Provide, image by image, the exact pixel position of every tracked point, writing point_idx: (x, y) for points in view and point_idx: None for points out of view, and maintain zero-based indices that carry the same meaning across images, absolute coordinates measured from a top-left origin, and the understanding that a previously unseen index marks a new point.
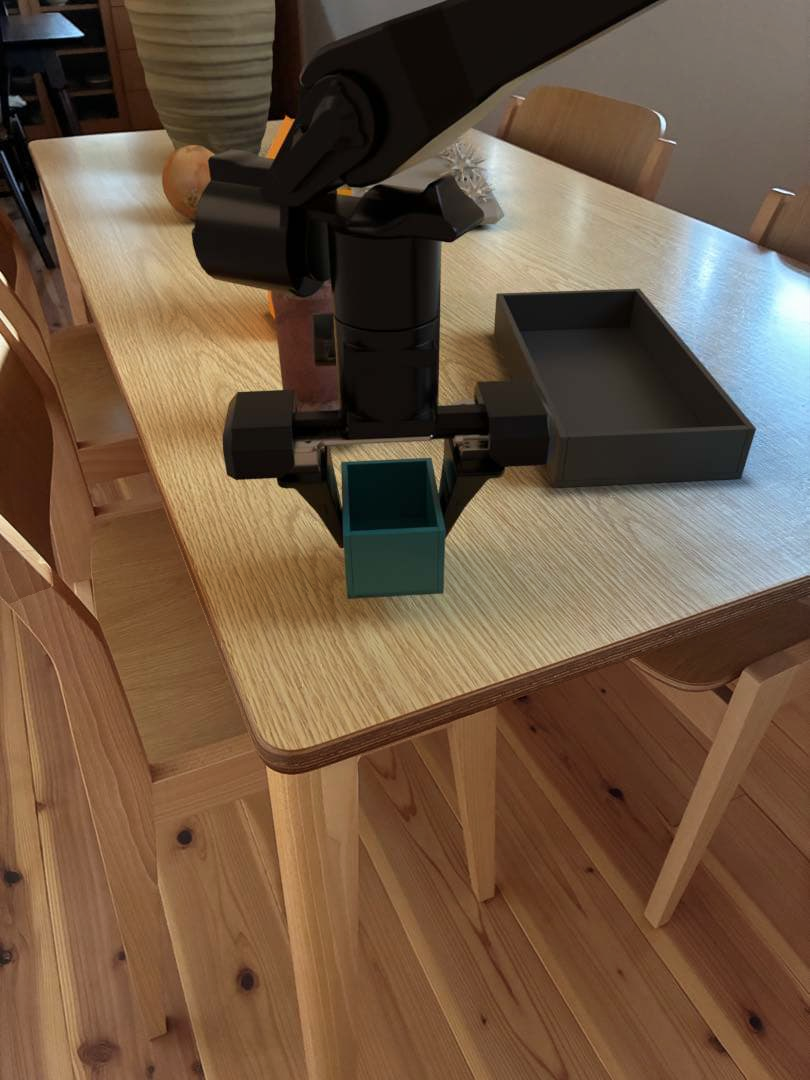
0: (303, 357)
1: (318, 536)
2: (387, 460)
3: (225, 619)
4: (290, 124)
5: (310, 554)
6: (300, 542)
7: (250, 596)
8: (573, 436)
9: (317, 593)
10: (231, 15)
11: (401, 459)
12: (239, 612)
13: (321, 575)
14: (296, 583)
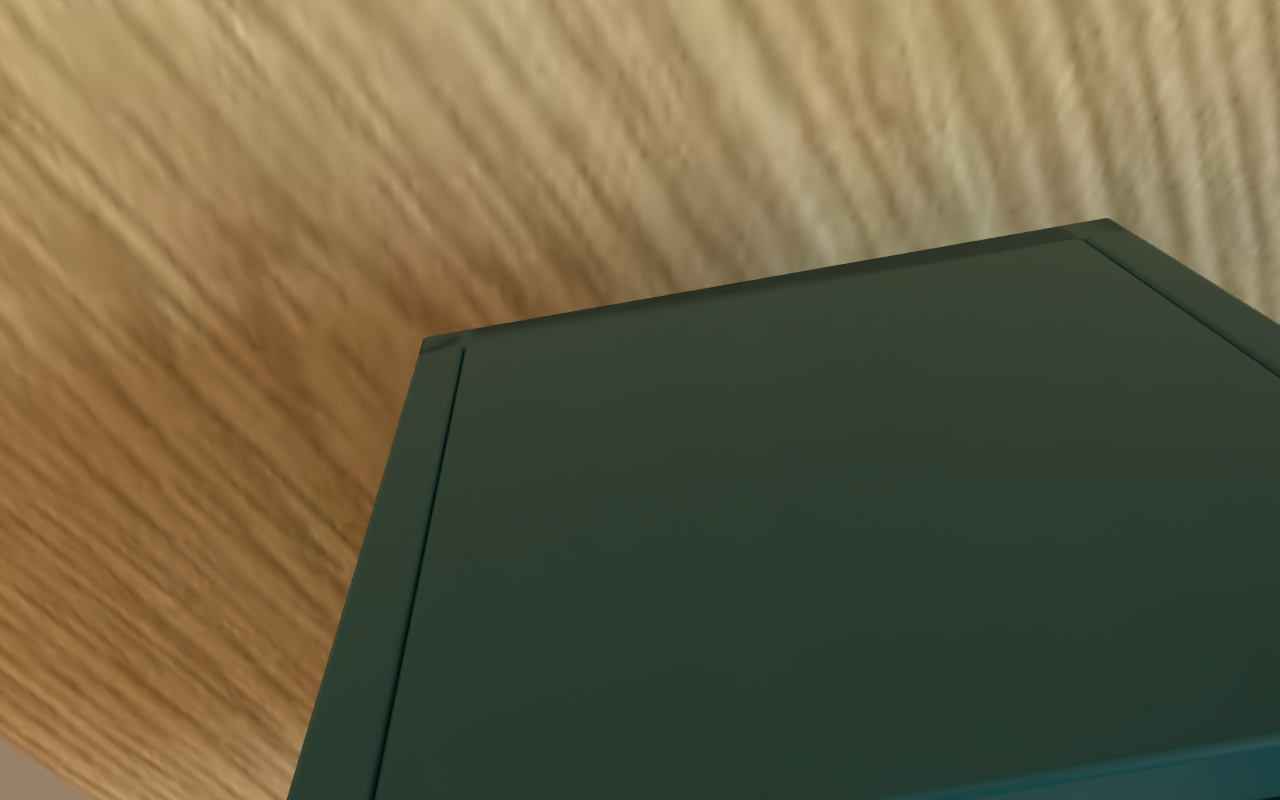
0: None
1: (208, 111)
2: (1034, 797)
3: (41, 744)
4: None
5: (233, 304)
6: (109, 192)
7: (69, 626)
8: None
9: None
10: None
11: (1274, 746)
12: (78, 708)
13: (367, 463)
14: (256, 529)
